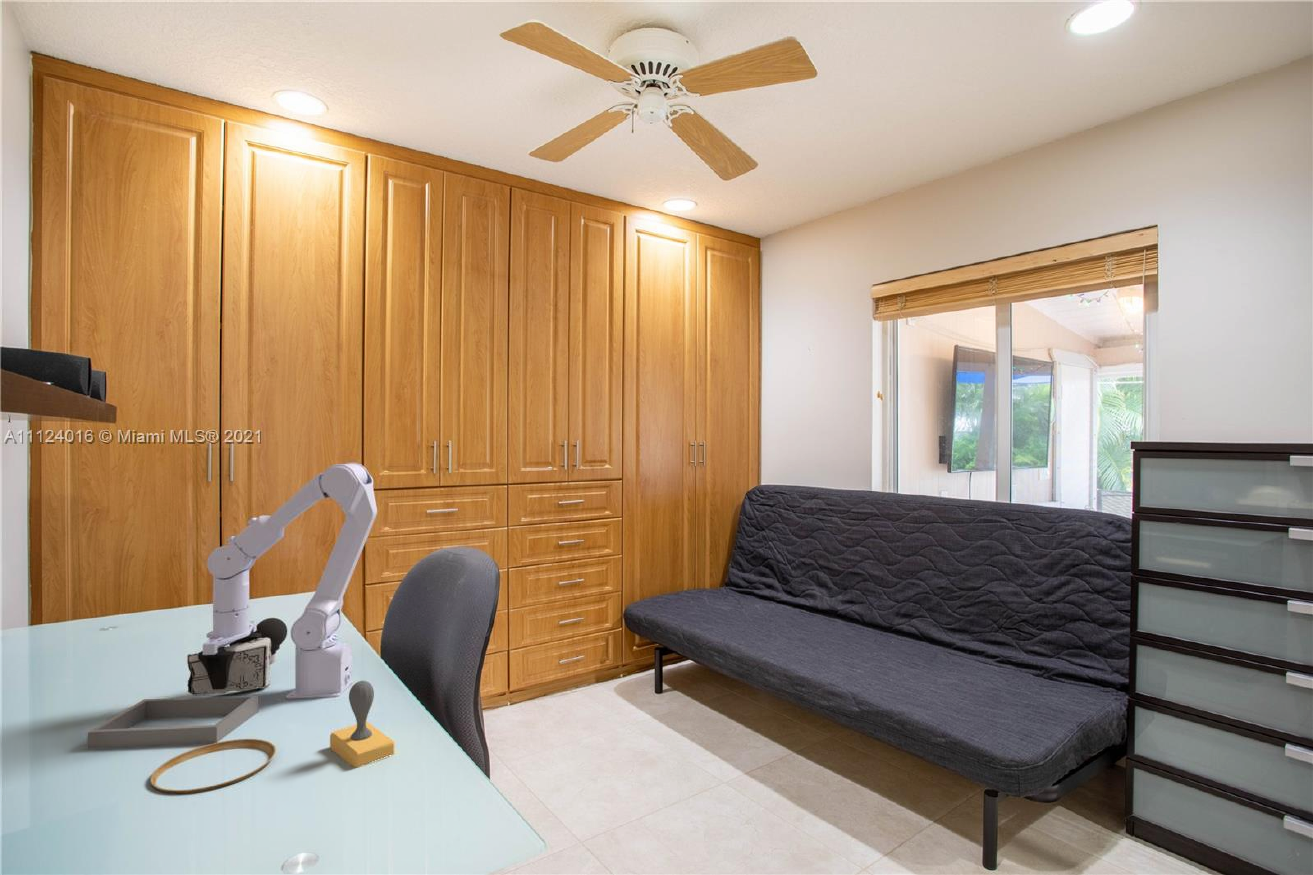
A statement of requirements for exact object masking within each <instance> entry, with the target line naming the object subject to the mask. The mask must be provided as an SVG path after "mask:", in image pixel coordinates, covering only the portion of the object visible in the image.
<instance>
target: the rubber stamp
mask: <svg viewBox="0 0 1313 875" xmlns="http://www.w3.org/2000/svg"><path fill="white" fill-rule="evenodd" d="M348 693H349V694H348V701H349V704H350V707H351V710H352V713H353V715H354V717H355V720H356V724H354V725H352V726H351V725H350V726H347V727H345V728H341V729H337V730H334V731H332V732H331V733H330V735H329V749H330V748H331V749H330V750H332V751H333V752H334V751H335V752H336V753H335V752H334V753H335V754H336V755H338V756H339V755H340V757H341V758H342V759H343V760H345V762H346V763H348V764H349V765H350V766H352V767H353V766H354V769H355V768H361V767H363V766H362V765H364V766H367V765H369V764H368V763H370V762H372V761H375V760H378V759H381V758H384V757H386V756H389V755H393V754H394V755H395V741H394V740H393V739H391V738H390V737H389V736H388V735H386V734H385V733H383V731H380V730H379V729H378V728H376V727H375V726H373V725H372V724H371V723H369V722H368V721H367V718H368V717H369V716H368V715H369V713H370V710H371V708H372V705H373V702H374V697H375V691H374V687H373V685H372V684H371V682H369V681H366V680H359V681H357V682H355V683H354V684H353V685H352V686H351V688H350V690H349V692H348ZM394 755H393V756H394ZM366 764H367V765H366ZM370 764H371V763H370ZM360 766H361V767H360Z"/></svg>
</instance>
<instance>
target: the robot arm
mask: <svg viewBox="0 0 1313 875" xmlns="http://www.w3.org/2000/svg"><path fill="white" fill-rule="evenodd" d="M327 498H331V499H333V501H335V503H337V504H338V505H339V506H340V508H341V510H342V511H343V514H344V515H345V519H344V522H343V524H342V527H341V529H340V531H339V534H338V536H337V539H336V541H335V544H334V547H333V548H332V551H331V553H330V556H329V559H328V561H327V562H326V565H325V568H324V570H323V574H322V575H321V578H320V580H319V582H318V585H317V587H316V589H315V592H314V594H313V596H312V597H311V599H310V600H309V602H308V603H307V605H306V606H305V608H304V611H303V613H302V614H301V616H300V617H299V618H297V619H296V620H294V622H293V624H292V626H291V627H290V638H291V640H292V642H293V644H294V646H295V648H294V649H295V650H294V651H295V653H294V654H295V656H294V658H295V663H294V664H295V668H294V669H295V672H294V673H295V677H294V679H295V682H294V683H295V684H294V686H295V688H294V689H293V690H292V691H290V692H289V693H288V694H287V695H286V696H285V698H286V699H287V700H288V699H290V700H291V699H313V698H314V699H315V698H318V699H319V698H320V699H321V698H338V697H341V695H342V694H343V693H344V692H345V691H346V690H347V689H348V688H349V687H350V686H351V685H352V684H353V683H354V678H353V648H352V645H351V644H350V643H346V642H345V643H343V642H340V641H338V640H339V638H338V635H337V633H336V631H338V629H339V628H340V626H341V623H342V613H341V612H342V608H343V605H344V596H345V593H346V591H347V588H348V586H349V583H350V581H351V579H352V576H353V574H354V572H355V568H356V566H357V564H358V561H359V560H360V559H359V558H360V556H361V554H362V552H363V550H364V547H365V544H366V542H367V539H368V537H369V534H370V532H371V530H372V527H373V525H374V523H375V520H376V518H377V515H378V508H377V502H376V496H375V491H374V478H373V477H372V475H371V474H370V473H369V471H368V469H367V468H366V466H364V465H363V464H360V463H358V462H353V461H352V462H346V463H337V464H333V465H332V464H331V465H330V466H328V467H327V468H325V469H324V471H323V472H320V473H319V474H317V475H315V476H313V478H311V479H310V480H309V481H308V482H306V484H304V486H302V487H301V488H300V489H299V490H297V492H296V493H294V495H292V496H291V497H290V498H289V499H288V500H287V501H286V502H285V503H284V504H282V505H281V506H280V507H279V508H278V509H277V510H275V511H274V513H272V514H271V515H259V517H252V518H250V519H249V520H248V521H247V524H248V525H247V526H246V527H245V528H244V529H243V530H241V532H239V533H238V534H236V536H235V535H233V536H230V537H229V538H228V539H226V540H227V545H223V546H220V547H219V546H218V547H216V548H214V549H213V551H212V552H211V553H210V555H209V556H208V557H207V561H206V567H207V570H208V571H209V573H210V574H211V575H212V577H213V579H212V580H213V581H212V583H213V584H212V585H213V586H212V631H209V632H208V633H206V638H207V641H206V642H205V643H203V644H202V650H201V651H200V652H198V653H197V654H198V659H199V660H200V661H201V663H202V664H203V665H204V667H205V669H206V671H207V673H208V676H209V679H210V683H211V686H212V689H213V690H217V689H225V688H226V687H227V684H228V677H229V669H230V665H231V661H232V659H233V656H234V654H235V652H236V651H226V649H225V650H224V647H227V646H230V645H234V644H238V643H242V644H243V643H246V642H250V641H253V640H256V639H259V638H261V633H253V632H255V631H256V628H257V625H258V623H257V621H256V620H253V621H252V620H251V621H250V571H251V569H252V567H253V566H254V564H255V562H256V560H258V559H259V558H261V557H262V556H263V555H264V554H265V553H267V551H269V550H270V549H271V548H272V547H273V546H275V545H276V544H277V543H278V542H279V541H280V540H282V539H283V538H284V536H285V527H287V526H288V525H289V524H290V523H292V522H293V521H294V520H296V518H298V517H299V516H301V515H302V514H303V513H305V512H306V511H307V510H309V508H311V507H313V505H315V504H316V503H317V502H319V501H321V500H324V499H327Z"/></svg>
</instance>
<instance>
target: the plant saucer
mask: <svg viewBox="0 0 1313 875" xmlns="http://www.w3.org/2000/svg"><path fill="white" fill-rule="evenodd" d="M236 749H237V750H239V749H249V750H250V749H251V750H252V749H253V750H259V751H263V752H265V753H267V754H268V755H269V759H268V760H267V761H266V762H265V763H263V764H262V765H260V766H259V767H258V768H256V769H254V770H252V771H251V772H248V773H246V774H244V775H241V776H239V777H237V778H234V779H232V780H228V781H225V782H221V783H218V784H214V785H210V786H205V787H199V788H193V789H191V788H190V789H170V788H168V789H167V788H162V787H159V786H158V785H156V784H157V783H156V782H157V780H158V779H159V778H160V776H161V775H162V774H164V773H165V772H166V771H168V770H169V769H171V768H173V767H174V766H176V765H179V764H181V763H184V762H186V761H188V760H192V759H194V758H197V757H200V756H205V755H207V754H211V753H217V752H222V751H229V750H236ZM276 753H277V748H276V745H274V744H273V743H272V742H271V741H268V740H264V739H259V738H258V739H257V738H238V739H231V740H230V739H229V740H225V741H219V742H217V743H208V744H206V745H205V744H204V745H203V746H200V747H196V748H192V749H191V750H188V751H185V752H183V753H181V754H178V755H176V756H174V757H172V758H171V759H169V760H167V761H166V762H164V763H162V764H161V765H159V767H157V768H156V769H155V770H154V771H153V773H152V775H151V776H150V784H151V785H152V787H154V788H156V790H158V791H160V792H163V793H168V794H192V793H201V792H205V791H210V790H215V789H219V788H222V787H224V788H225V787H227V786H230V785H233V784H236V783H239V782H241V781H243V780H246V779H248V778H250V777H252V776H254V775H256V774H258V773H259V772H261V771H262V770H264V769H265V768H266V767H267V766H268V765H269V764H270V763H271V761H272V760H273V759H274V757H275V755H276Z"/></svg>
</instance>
